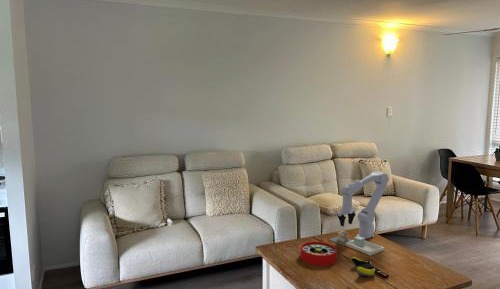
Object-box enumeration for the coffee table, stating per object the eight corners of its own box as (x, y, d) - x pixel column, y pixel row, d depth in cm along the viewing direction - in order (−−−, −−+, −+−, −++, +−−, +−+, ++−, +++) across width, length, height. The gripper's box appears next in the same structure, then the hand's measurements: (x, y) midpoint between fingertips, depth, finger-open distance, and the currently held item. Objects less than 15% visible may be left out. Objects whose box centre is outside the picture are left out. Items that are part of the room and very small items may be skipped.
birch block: (342, 238, 240) (342, 230, 239) (347, 240, 236) (348, 232, 236) (337, 239, 237) (337, 232, 237) (343, 242, 234) (343, 234, 233)
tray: (345, 246, 229) (345, 242, 229) (359, 241, 237) (359, 237, 237) (370, 256, 215) (370, 252, 215) (383, 251, 222) (384, 247, 222)
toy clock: (319, 258, 198) (293, 246, 214) (318, 269, 199) (293, 256, 215) (344, 250, 210) (318, 239, 226) (343, 260, 210) (317, 248, 226)
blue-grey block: (358, 243, 232) (358, 235, 232) (364, 246, 229) (364, 238, 228) (353, 245, 230) (354, 237, 229) (359, 247, 226) (360, 239, 225)
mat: (341, 236, 246) (341, 235, 246) (355, 242, 236) (356, 241, 236) (328, 240, 239) (328, 239, 239) (343, 246, 229) (343, 245, 229)
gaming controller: (357, 278, 188) (377, 279, 188) (357, 268, 188) (377, 268, 187) (350, 265, 203) (368, 266, 203) (350, 255, 203) (369, 256, 202)
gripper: (344, 207, 231) (343, 228, 233) (359, 204, 240) (358, 224, 241) (335, 204, 237) (334, 225, 239) (350, 201, 245) (349, 221, 247)
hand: (346, 224), depth 240 cm, fingers open, 7 cm apart
